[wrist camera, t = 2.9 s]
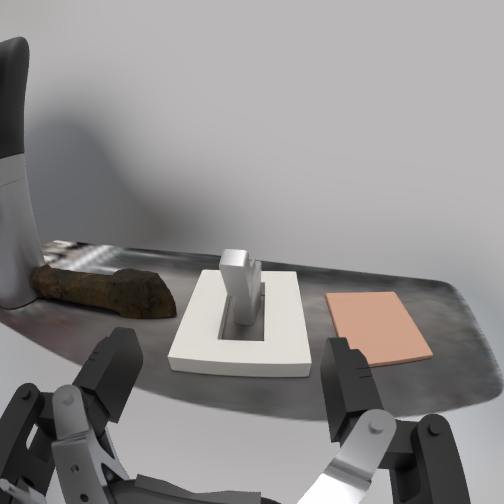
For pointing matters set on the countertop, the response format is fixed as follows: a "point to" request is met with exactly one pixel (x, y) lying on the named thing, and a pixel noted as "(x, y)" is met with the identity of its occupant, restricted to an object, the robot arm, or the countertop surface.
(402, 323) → the mat
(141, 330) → the countertop surface
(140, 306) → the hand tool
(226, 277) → the lighter
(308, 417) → the countertop surface
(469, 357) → the countertop surface
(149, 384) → the countertop surface
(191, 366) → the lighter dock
